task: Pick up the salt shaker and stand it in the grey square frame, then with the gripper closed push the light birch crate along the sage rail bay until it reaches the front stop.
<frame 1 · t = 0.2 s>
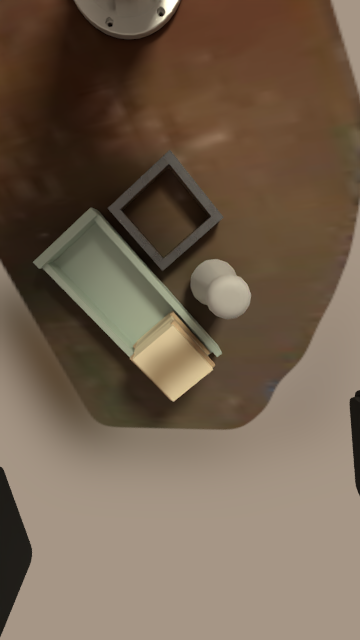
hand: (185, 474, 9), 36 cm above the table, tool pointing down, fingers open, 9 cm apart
salt shaker: (211, 280, 45), on the table
bay: (136, 305, 45), on the table
crate: (172, 354, 42), point 4 cm above the table, slide at 14.0 cm
grey square frame: (165, 214, 42), on the table
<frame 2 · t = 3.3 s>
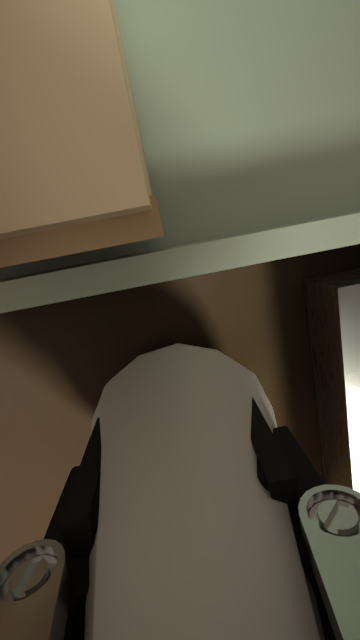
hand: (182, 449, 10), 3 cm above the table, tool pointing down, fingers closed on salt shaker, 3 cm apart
salt shaker: (180, 396, 13), on the table, touching gripper
bay: (247, 109, 11), on the table
when the fingers open (5 cm above the table, at t = 8.1 s): salt shaker drops 1 cm, resting in grey square frame.
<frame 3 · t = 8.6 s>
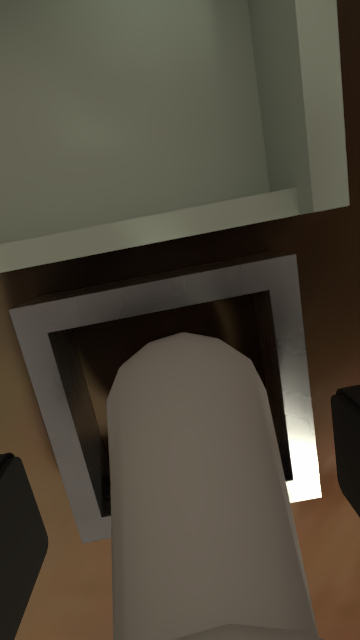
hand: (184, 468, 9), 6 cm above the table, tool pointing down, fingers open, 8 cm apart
salt shaker: (183, 382, 15), resting in grey square frame
grey square frame: (176, 383, 15), on the table
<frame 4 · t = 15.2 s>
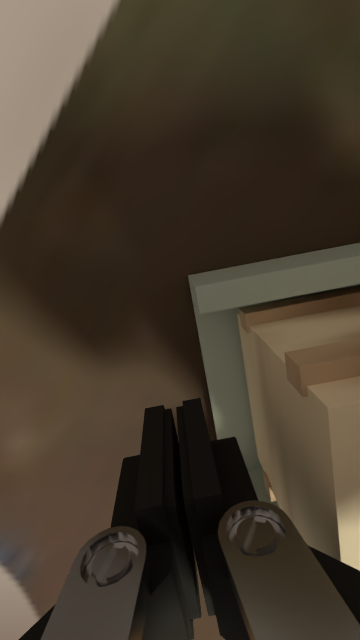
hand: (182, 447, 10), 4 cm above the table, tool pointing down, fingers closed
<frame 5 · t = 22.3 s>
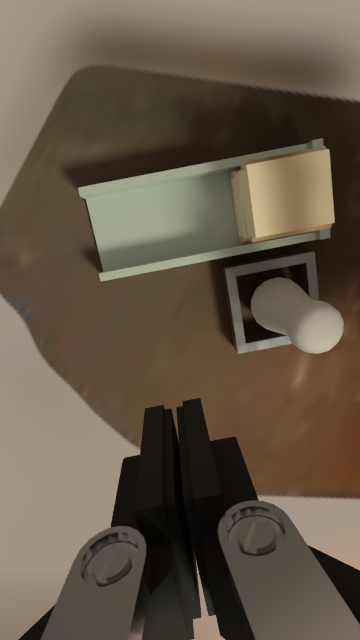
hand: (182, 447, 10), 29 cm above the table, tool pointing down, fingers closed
salt shaker: (270, 300, 39), resting in grey square frame
bay: (201, 215, 37), on the table
crate: (278, 198, 33), point 4 cm above the table, slide at 0.0 cm
grey square frame: (268, 300, 39), on the table
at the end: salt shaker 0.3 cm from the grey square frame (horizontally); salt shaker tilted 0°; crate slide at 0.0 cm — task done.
